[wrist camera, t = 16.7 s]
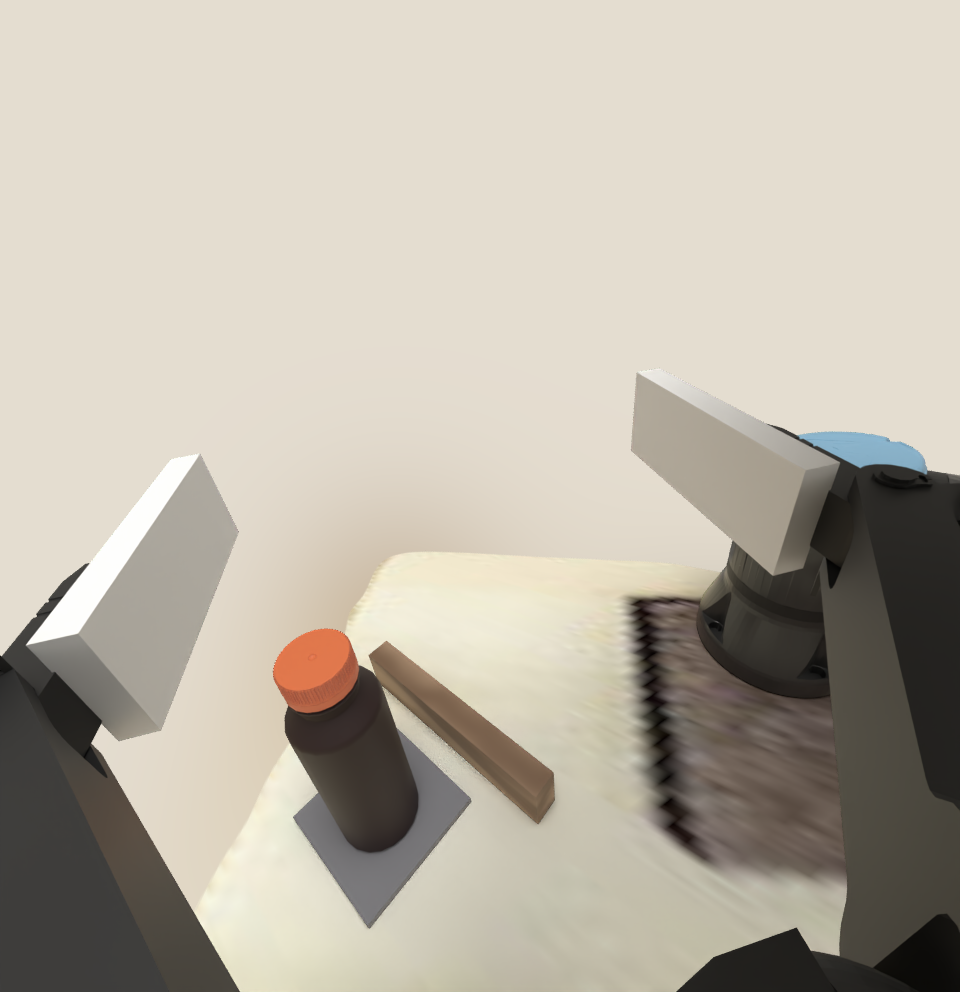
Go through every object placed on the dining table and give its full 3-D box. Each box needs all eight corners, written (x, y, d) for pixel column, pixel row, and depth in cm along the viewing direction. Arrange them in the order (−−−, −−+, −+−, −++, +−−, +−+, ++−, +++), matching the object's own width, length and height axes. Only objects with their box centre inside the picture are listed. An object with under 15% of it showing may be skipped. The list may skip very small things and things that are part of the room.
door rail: (394, 667, 53) (386, 640, 51) (554, 800, 40) (553, 772, 37) (378, 681, 52) (368, 655, 49) (537, 824, 38) (535, 797, 36)
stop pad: (392, 726, 47) (391, 722, 47) (471, 801, 40) (470, 798, 40) (295, 820, 41) (292, 817, 40) (369, 928, 34) (367, 925, 34)
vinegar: (435, 801, 40) (386, 648, 29) (373, 876, 36) (291, 729, 25) (386, 752, 44) (328, 602, 34) (326, 815, 40) (237, 666, 29)
